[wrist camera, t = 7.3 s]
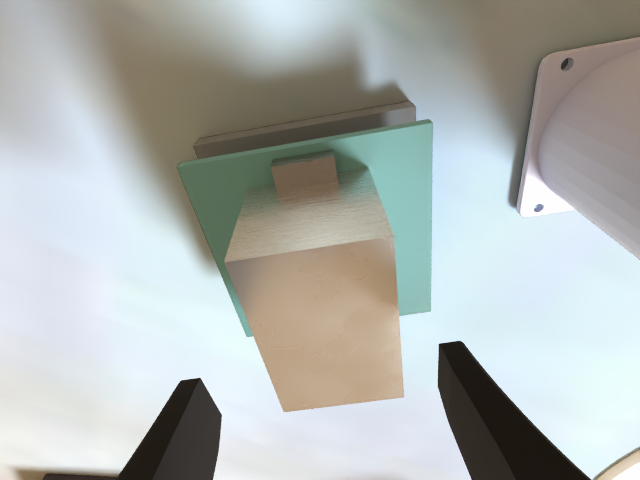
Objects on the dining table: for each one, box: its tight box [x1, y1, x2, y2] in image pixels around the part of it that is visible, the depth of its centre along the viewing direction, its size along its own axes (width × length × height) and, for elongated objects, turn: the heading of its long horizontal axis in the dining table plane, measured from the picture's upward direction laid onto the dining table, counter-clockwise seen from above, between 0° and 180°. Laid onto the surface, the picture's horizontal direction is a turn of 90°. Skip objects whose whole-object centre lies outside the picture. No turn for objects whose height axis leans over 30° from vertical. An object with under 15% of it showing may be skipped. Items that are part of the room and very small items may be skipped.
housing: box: [224, 149, 404, 412], centre depth 15 cm, size 5×10×5 cm, turn 9°
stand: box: [177, 101, 433, 337], centre depth 18 cm, size 10×10×4 cm
